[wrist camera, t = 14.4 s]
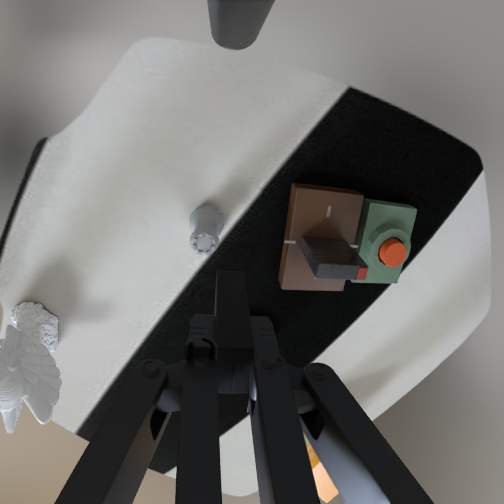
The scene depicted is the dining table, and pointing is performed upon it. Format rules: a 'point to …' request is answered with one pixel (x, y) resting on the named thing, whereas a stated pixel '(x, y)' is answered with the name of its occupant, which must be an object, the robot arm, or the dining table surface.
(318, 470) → the orange juice
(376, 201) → the button block
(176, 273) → the dining table surface
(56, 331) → the cherub figurine
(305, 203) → the panel
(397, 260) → the button
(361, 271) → the red-tipped grey box
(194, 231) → the rook chess piece
